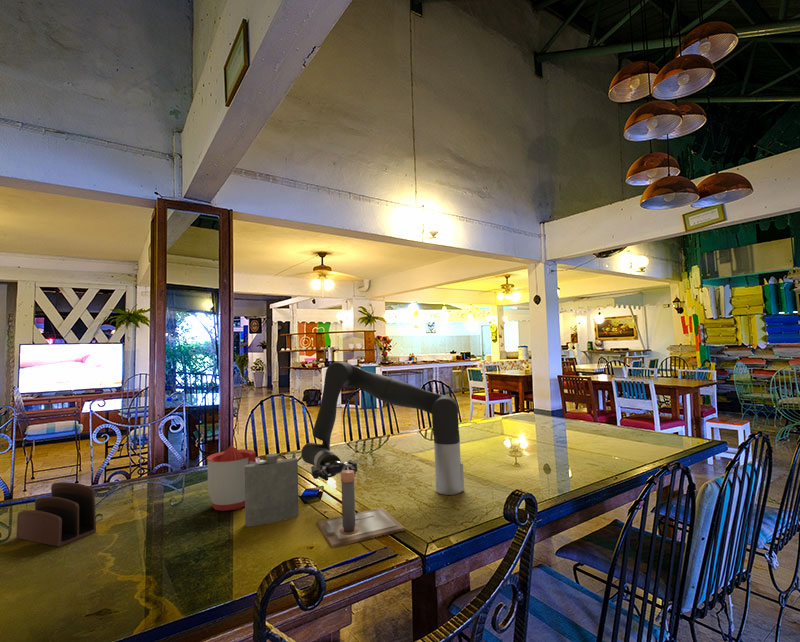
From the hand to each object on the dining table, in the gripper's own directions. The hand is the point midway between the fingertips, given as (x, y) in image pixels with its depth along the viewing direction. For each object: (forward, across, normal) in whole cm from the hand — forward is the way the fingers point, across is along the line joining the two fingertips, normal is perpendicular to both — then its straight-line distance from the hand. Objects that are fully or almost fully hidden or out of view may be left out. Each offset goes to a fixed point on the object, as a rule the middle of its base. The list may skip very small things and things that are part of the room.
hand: (340, 474), depth 129 cm
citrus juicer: (-30, -29, +13) cm, 43 cm away
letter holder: (-31, -78, +12) cm, 85 cm away
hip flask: (-9, -19, +13) cm, 25 cm away
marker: (+12, -2, +12) cm, 17 cm away
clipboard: (+9, +2, +13) cm, 16 cm away
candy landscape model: (-56, -18, +13) cm, 60 cm away
